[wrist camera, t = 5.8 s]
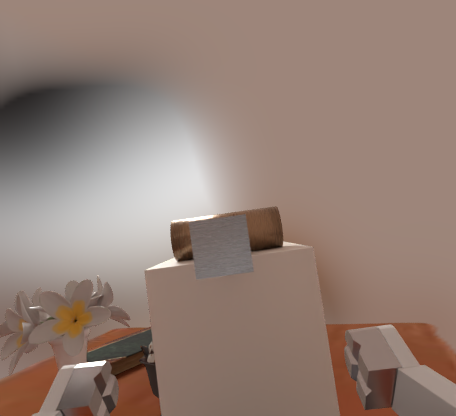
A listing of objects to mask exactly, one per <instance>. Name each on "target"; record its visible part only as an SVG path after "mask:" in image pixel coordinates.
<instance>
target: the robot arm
mask: <svg viewBox="0 0 456 416" xmlns="http://www.w3.org/2000/svg"><path fill="white" fill-rule="evenodd" d="M345 340H346V342H347V344H348V345H347V346H346V347H345V361H346V365H347V368H348V371H349V374H350V376H351V378H352V379H354V380H355V381H356V382H357V388H356V390H357V393H358V395H359V397H360V400H361V402H362V404H363V406H364V409H365V410H369V409H380V408H390V407H392V409H393V410H394V411H395V412H396V413H397V414H398V415H399V416H456V384H454V383H453V382H451V381H449V380H448V379H446V378H445V377H443V376H441V375H440V374H438V373H437V372H435V371H433V370H432V369H430V368H429V367H427V366H425V365H421V366H420V365H419V363H418V362H417V360H416V359H415V357H414V356H413V354H412V353H411V351H410V350H409V348H408V347H407V345H406V344H405V342H404V341H403V339H402V338H401V336H400V335H399V333H398V332H397V330H396V329H395V327H394V326H392V325H384V326H376V327H375V326H374V327H367V328H360V329H353V330H347V331H346V333H345ZM111 370H112V367H111V365H110V363H109V361H103V362H93V363H83V364H75V365H65V366H63V367H62V368H61V369H60V370H59V372H58V374H57V376H56V378H55V380H54V382H53V384H52V386H51V388H50V390H49V393H48V395H47V397H46V399H45V401H44V403H43V405H42V407H41V409H40V411H39V413H35V414H33V415H32V416H110V413H111V412H112V410H113V409H114V408H115V407H116V404H117V400H118V390H119V388H118V382H117V379H116V377H115V376H114V375H112V374H111Z"/></svg>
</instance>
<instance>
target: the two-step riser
mask: <svg viewBox="0 0 456 416" xmlns="http://www.w3.org/2000/svg"><path fill="white" fill-rule="evenodd" d="M251 256H252V263H253V270H254V272H249V273H241V274H234V275H227V276H220V277H212V278H205V279H198V280H196V275H195V267H194V259H191V260H183V261H176V259H175V258H173V259H170V260H168V261H166V262H163V263H161V264H158V265H156V266H154V267H151V268H149V269H147V270H145V279H146V288H147V297H148V305H149V314H150V322H151V331H152V339H153V348H154V356H155V365H156V373H157V382H158V390H159V399H160V408H161V416H340V413H339V407H338V400H337V394H336V388H335V381H334V375H333V369H332V362H331V356H330V349H329V343H328V337H327V330H326V324H325V318H324V311H323V305H322V298H321V292H320V286H319V280H318V273H317V267H316V260H315V254H314V247H310V246H305V245H299V244H294V243H289V242H283V247H278V248H270V249H263V250H256V251H251Z"/></svg>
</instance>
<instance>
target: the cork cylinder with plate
mask: <svg viewBox="0 0 456 416" xmlns="http://www.w3.org/2000/svg"><path fill="white" fill-rule="evenodd" d="M171 243H172V249H173V253H174V257H175V259H176V261H183V260H191V259H194V267H195V275H196V280H198V279H205V278H212V277H220V276H227V275H234V274H241V273H249V272H254V270H253V263H252V256H251V251H256V250H263V249H270V248H278V247H283V232H282V224H281V219H280V214H279V211H278V208H277V207H276V206H275V207H268V208H262V209H254V210H247V211H240V212H232V213H225V214H218V215H211V216H203V217H196V218H189V219H182V220H175V221H172V222H171Z"/></svg>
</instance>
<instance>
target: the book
mask: <svg viewBox="0 0 456 416" xmlns="http://www.w3.org/2000/svg"><path fill="white" fill-rule="evenodd" d="M152 340H153V339H152V331H151V327H149V328H146V329H143V330H140V331H138V332H135V333H132V334H130V335H127V336H124V337H122V338H119V339H116V340H113V341H111V342H108V343H105V344H102V345H100V346H97V347H94V348H91V349H89V350H87V363H93V362H103V361H109V363H110V365H111V367H112V370H111V374H112V375H116V374H119V373H121V372H123V371H125V370H128V369H130V368H132V367H134V366H136V365H139V364H141V363H140V362H139V360H140V359H141V358H142V357H143V356H144V353H143V351H142V349H141V347H140V346H141V345H143V346H146V347H147V348H148V349H149V345H150V343H151V342H152Z"/></svg>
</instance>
